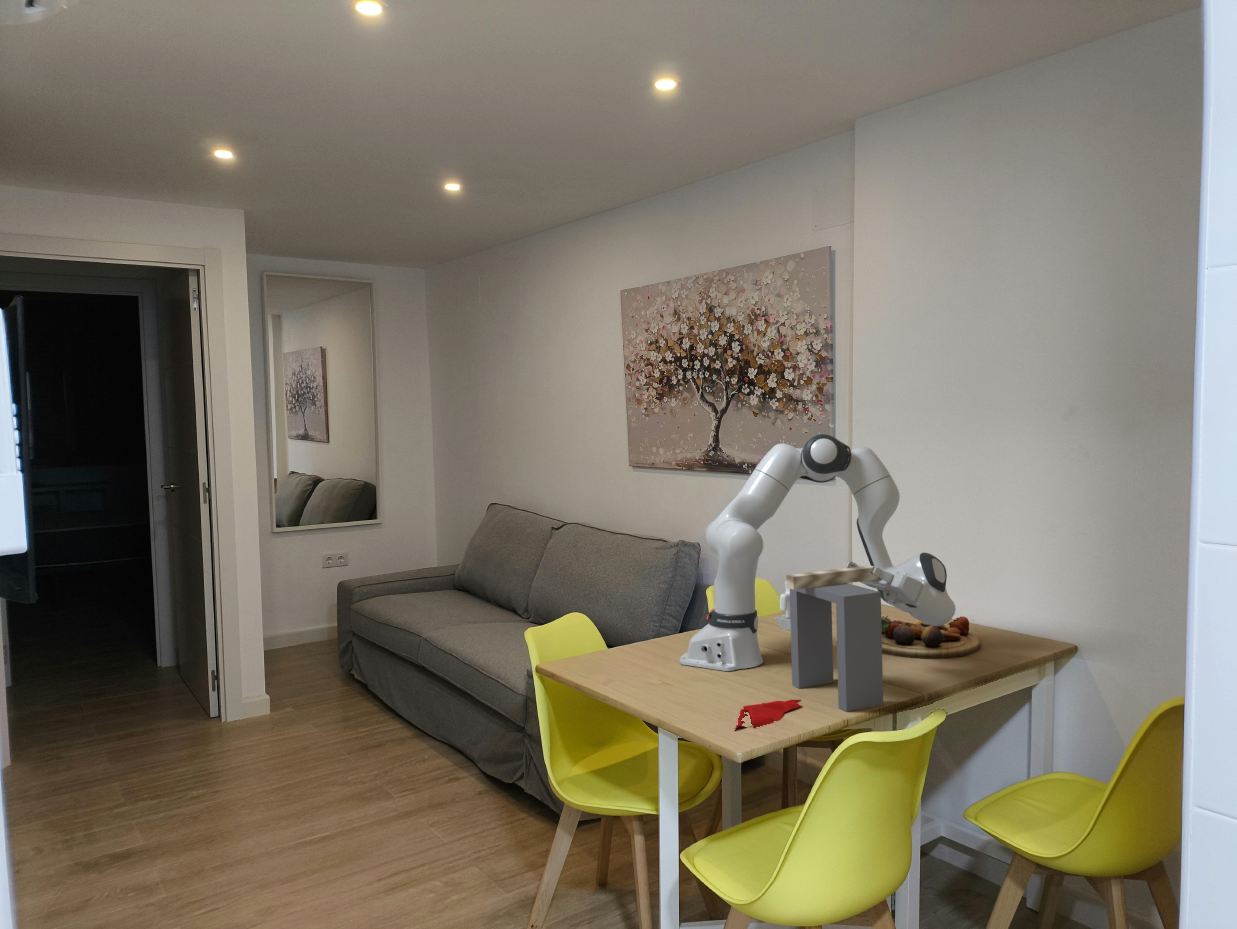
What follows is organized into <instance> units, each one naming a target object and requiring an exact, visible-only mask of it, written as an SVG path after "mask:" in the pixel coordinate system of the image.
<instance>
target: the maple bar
mask: <svg viewBox="0 0 1237 929" xmlns="http://www.w3.org/2000/svg"><path fill="white" fill-rule="evenodd" d="M872 567H875V566H871V565H870V564H869V565H863V566H861V567H852V568H847V567H846V568H845V567H844V568H836V569H828V570H818V571H810V572H800V573H793V574H786V576H785V577H786V578H785V579H786V580H785V582H786V581H787V588H790V589H793V590H795V589H803V588H811V587H820V586H828V585H836V584H844V583H848V584H851V583H861V581H869V580H877V579H878V576H875V575H873V574H871V570H872ZM877 568H878V567H877Z"/></svg>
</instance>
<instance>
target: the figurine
mask: <svg viewBox="0 0 1237 929" xmlns="http://www.w3.org/2000/svg"><path fill="white" fill-rule="evenodd" d="M784 588H785V592H784V593H781V594H780V596H779V610H780V612H783V613H784V612H785V613H784V614H781V615H778V616H776V617H774V619H775V621H776V623H777V624H778V626H779V628H780V629H781V630H785V629H787V630H786V631H791V618H790V588H787V581H786V580H785V581H784Z"/></svg>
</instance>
